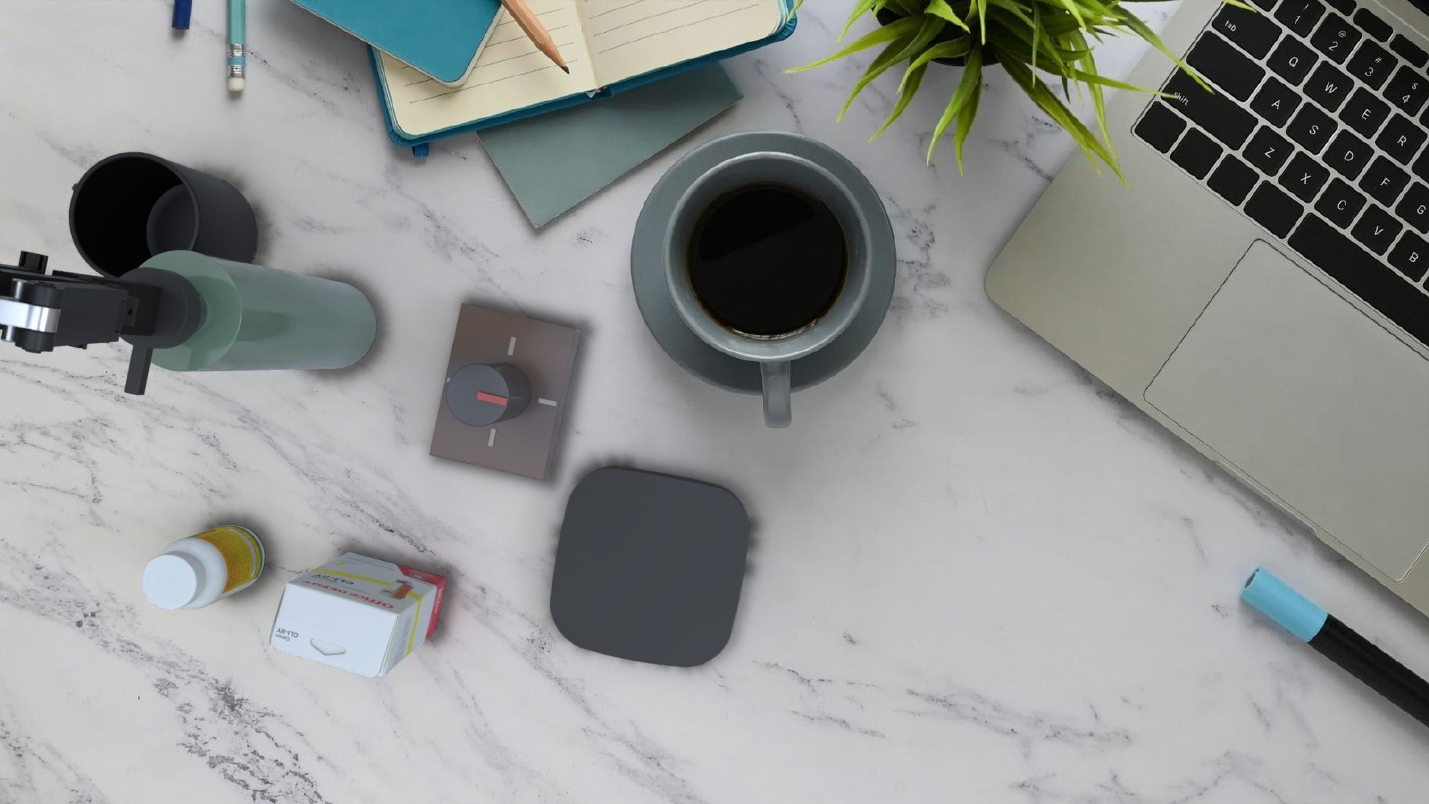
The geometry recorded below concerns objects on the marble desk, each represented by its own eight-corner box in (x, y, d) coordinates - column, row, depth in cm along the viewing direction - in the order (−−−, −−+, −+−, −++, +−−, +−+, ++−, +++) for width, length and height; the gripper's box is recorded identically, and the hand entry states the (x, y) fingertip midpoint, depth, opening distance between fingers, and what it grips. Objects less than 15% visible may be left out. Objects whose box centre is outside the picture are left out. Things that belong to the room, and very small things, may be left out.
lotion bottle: (299, 272, 79) (123, 235, 56) (384, 291, 79) (243, 262, 56) (281, 358, 79) (99, 356, 56) (366, 377, 79) (219, 384, 56)
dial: (468, 413, 76) (438, 419, 68) (480, 357, 76) (452, 357, 68) (523, 426, 76) (500, 433, 68) (536, 370, 76) (514, 371, 68)
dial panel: (471, 304, 79) (460, 302, 75) (581, 329, 79) (575, 328, 75) (440, 451, 79) (428, 455, 76) (549, 475, 79) (542, 480, 76)
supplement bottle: (233, 602, 80) (166, 636, 70) (187, 554, 80) (114, 581, 70) (281, 557, 80) (220, 584, 70) (235, 509, 79) (168, 530, 70)
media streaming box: (757, 489, 79) (759, 494, 76) (724, 667, 80) (724, 678, 76) (578, 456, 79) (572, 460, 76) (546, 634, 80) (539, 644, 77)
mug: (140, 142, 78) (64, 114, 69) (278, 204, 78) (220, 184, 69) (95, 251, 79) (13, 237, 70) (232, 313, 79) (168, 306, 70)
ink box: (450, 576, 79) (402, 614, 68) (434, 635, 80) (384, 682, 68) (348, 548, 79) (281, 580, 68) (332, 606, 80) (264, 649, 68)
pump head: (138, 263, 55) (115, 259, 53) (214, 280, 55) (194, 276, 53) (114, 384, 56) (90, 385, 54) (189, 401, 56) (169, 403, 54)
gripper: (-85, 189, 29) (274, 266, 53) (-510, 93, 29) (38, 213, 53) (-131, 433, 30) (247, 402, 53) (-552, 339, 30) (12, 350, 53)
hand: (142, 308), depth 53 cm, fingers closed
